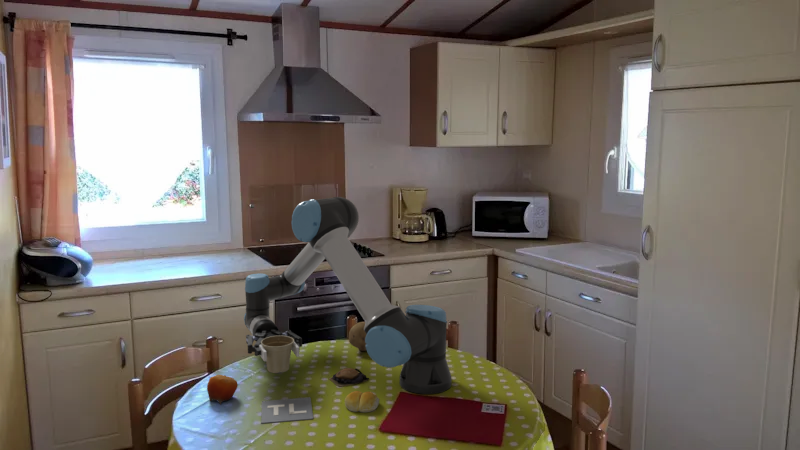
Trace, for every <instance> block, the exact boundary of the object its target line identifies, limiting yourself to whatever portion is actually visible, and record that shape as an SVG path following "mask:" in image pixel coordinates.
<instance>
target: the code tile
mask: <svg viewBox="0 0 800 450" xmlns="http://www.w3.org/2000/svg"><path fill="white" fill-rule="evenodd" d="M305 420H307V421H308V420H314V414H313V405H312V399H311V397H310V396H309V397H308V396H307V397H297V398H284V399H273V400H272V399H271V400H261V419H260V424H273V423H283V422H295V421H297V422H298V421H305Z"/></svg>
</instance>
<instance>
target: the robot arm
mask: <svg viewBox="0 0 800 450" xmlns="http://www.w3.org/2000/svg"><path fill="white" fill-rule="evenodd" d="M359 218H360V216H359V211H358V208H357V207H356V205H355V203H353V202H352V201H351V200H350V199H347V198H345V197H342V196H335V197H329V198H320V199H314V198H312V199H309V200H304V201H301V202H300V203H298V204H297V205H296V207H295V208H294V210H293V212H292V215H291V229H292V232H293V234H294V237H295V238H296V239H297V240H298V241H300V242H303V243H307V244H306V245H305V246H304V247H303V248H302V250H301V251H300V252H298V255H296V257H295V258H294V259H293V260H292V261H291V262H290V264H289V265H288V266H287V267H286V269H284V270H283V272H282V273H281V274H280V275H276V276H271V277H269V274H267V273H252V274H249V275H247V276H246V277H245V282H244V283H245V287H244V292H245V313H244V315H243V316H244V317H243V321H244V325H245V326H246V329H247V330H248V331H249V332H250V334H246V335H245V341H246V343H245V344H247V354H252V353H254V356H255V357H258V356H260V358H261V359H262V361H263V362H266V361H267V353H266V350H265V349H264V347H263V346H262V345H261V341H262V340H263V339H264V338H267V337H270V336H289V337H292V338H293V339H294V343H293V346H292V348H291V352H292V353H293V354H294V355H295V357H296V358H298V357H300V348H301V347H303V338H302V337H301V336H299V335H297V334H296V333H294V332H293V331H292V330H291V329H287V330H286V331H285V332H282V331H281V330H279V328H278V325H276V323H275V322H274V320H273V319H271V317H270V302H271V301H274V300H279V299H282V298H286V297H289V296H290V297H291V296H295V295H297V294H299V293H301V292H303V290H304V289H305V286H306V282H305V281H306V280H307V279H308V278H309V277H310V276H311V274H313V272H315V270H316V269H317V268H318V267H319V266H320V265H321V264H322V263H323V261H325V260H326V262H327V263H328V265H329V267H330V268H331V270H332V271H333V273H334V274H335V276H336V277H337V279H338V280H339V282H340V284H341V285H342V287H343V289H344V290H345V292H346V293H347V295H348V297H349V298H350V300H351V301H352V303H353V304H354V306H355V307H356V309H357V311H358V313H359V314H360V316H361V317H362V319H363V320H364V322H365V327H364V331H365V332H366V334H367V335H366V338H365V343H366V350H365V351H366V352H367V355H368V356H369V358H370V359H371V360H372V361H373V362H374V363H376V364H377V365H379V366H381V367H385V368H389V369H390V368H395V367H399V366H402V368H401V370H400V374H399V386H400V387H401V388H402V389H403V390H405V391H408V392H410V393H415V394H421V395H431V394H438V393H442V392H446V391H447V390H449V389H450V388H451V387H452V374H451V371H450V368H449V365H448V361H447V323H448V321H447V312H446V310H444V309H443V308H441V307H439V306H434V305H428V304H410V305H408V306H406V309H405V313H404V311H403V310H402V308H401V307H400V305H394V304H391V302H390V300H389V299H388V297H387V296H386V294H385V292H384V290H382V288H381V286H380V284H378V282H377V280H376V278H375V277H374V275H373V274H372V273H371V271H370V270H369V268H368V267H367V265H366V263H365V262H364V260H363V259H362V257H361V255H360V254H359V253H358V251H357V249H356V248H355V247H354V245H353V243H352V242H351V241H350V239H349V238H350V237H351V236H352V234H353V233H354V232H355V231H356V229H357V228H358V224H359V221H360V220H359ZM254 341H255V344H254ZM253 344H254V345H253Z"/></svg>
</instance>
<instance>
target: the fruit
mask: <svg viewBox="0 0 800 450" xmlns="http://www.w3.org/2000/svg"><path fill="white" fill-rule="evenodd" d="M238 386H239V384H238V381H237V380H236V379H234V378H233V377H231V376H227V375H223V374H216V375H214V376H211V377H210V378H209V379H208V381H207V385H206V391H207V395H208V399H209V402H212V401H216V402H218V403H219V405H220V406H222V405H221V404H222V402H225V401H229V400H230V399H232V397H233V396H234V395H235V392H236V391H237V389H238Z"/></svg>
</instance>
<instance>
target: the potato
mask: <svg viewBox="0 0 800 450" xmlns="http://www.w3.org/2000/svg"><path fill="white" fill-rule="evenodd" d="M364 327H365V321H359V322H357V323H356V324H354V325H353V326H352V327H351V328H350V330H349V332H348V341H349V343H350V345H351V346H353V347H355V348H357V349H358V350H359V351H361V352H365V351H367V350H366V343H365V338H366V335H367V334H366V332H365V331H364Z"/></svg>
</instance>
